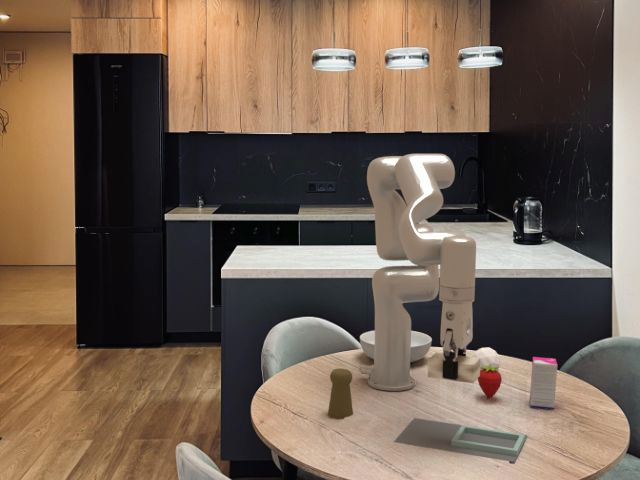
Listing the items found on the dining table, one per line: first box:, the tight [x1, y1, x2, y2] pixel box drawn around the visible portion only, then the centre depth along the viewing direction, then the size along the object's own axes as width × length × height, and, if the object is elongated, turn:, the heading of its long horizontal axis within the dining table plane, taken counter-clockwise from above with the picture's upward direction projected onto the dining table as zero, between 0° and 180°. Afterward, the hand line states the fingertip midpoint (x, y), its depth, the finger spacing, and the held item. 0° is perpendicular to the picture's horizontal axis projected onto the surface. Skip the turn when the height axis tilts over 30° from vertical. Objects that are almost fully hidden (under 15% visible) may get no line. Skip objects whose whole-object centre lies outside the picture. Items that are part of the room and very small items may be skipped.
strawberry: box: [477, 363, 503, 400], centre depth 214 cm, size 6×8×10 cm
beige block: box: [427, 352, 481, 384], centre depth 185 cm, size 10×6×4 cm, turn 66°
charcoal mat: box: [393, 417, 528, 464], centre depth 187 cm, size 26×16×1 cm, turn 68°
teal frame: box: [451, 424, 526, 456], centre depth 185 cm, size 14×10×1 cm
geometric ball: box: [471, 347, 501, 371], centre depth 234 cm, size 8×8×8 cm
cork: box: [327, 368, 354, 420], centre depth 201 cm, size 6×6×11 cm
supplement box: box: [529, 356, 558, 410], centre depth 210 cm, size 6×6×12 cm
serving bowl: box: [359, 330, 433, 363], centre depth 247 cm, size 21×21×7 cm
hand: (454, 373), depth 186 cm, fingers closed on beige block, 6 cm apart
